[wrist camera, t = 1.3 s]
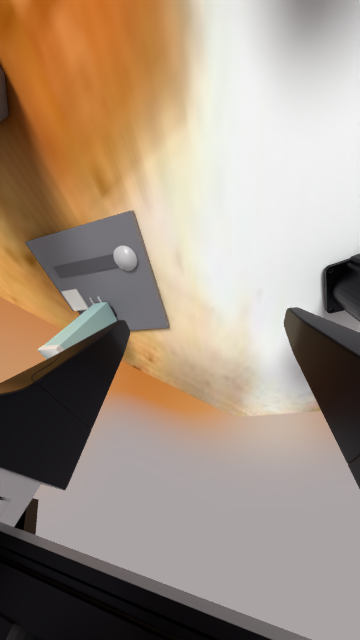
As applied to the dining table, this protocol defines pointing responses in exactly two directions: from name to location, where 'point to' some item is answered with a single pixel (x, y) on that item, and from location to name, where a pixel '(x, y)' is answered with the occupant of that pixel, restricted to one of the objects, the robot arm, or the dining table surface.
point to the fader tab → (80, 329)
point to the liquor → (3, 97)
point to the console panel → (104, 269)
